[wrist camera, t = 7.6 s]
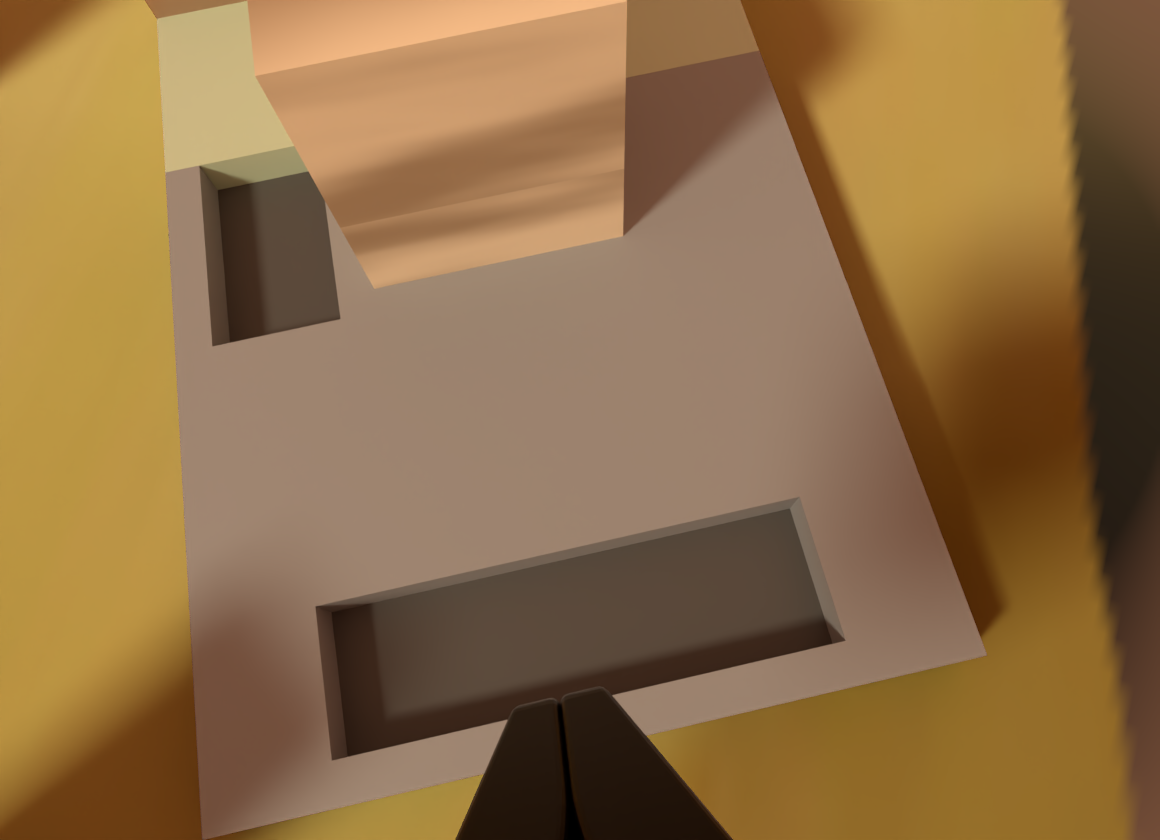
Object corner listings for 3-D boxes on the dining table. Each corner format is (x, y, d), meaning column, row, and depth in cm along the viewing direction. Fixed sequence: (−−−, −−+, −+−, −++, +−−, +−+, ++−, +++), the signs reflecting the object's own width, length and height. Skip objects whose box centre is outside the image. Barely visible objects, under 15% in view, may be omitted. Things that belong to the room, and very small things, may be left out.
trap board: (961, 659, 20) (987, 655, 19) (231, 831, 20) (202, 840, 18) (751, 86, 26) (759, 50, 25) (190, 202, 26) (165, 172, 24)
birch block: (623, 236, 23) (627, 0, 15) (374, 289, 23) (255, 75, 15) (550, -29, 26) (524, -327, 19) (333, 15, 26) (219, -271, 19)
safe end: (751, 85, 26) (770, -5, 23) (189, 202, 26) (127, 126, 22) (694, -72, 29) (704, -174, 25) (178, 31, 28) (120, -60, 25)
